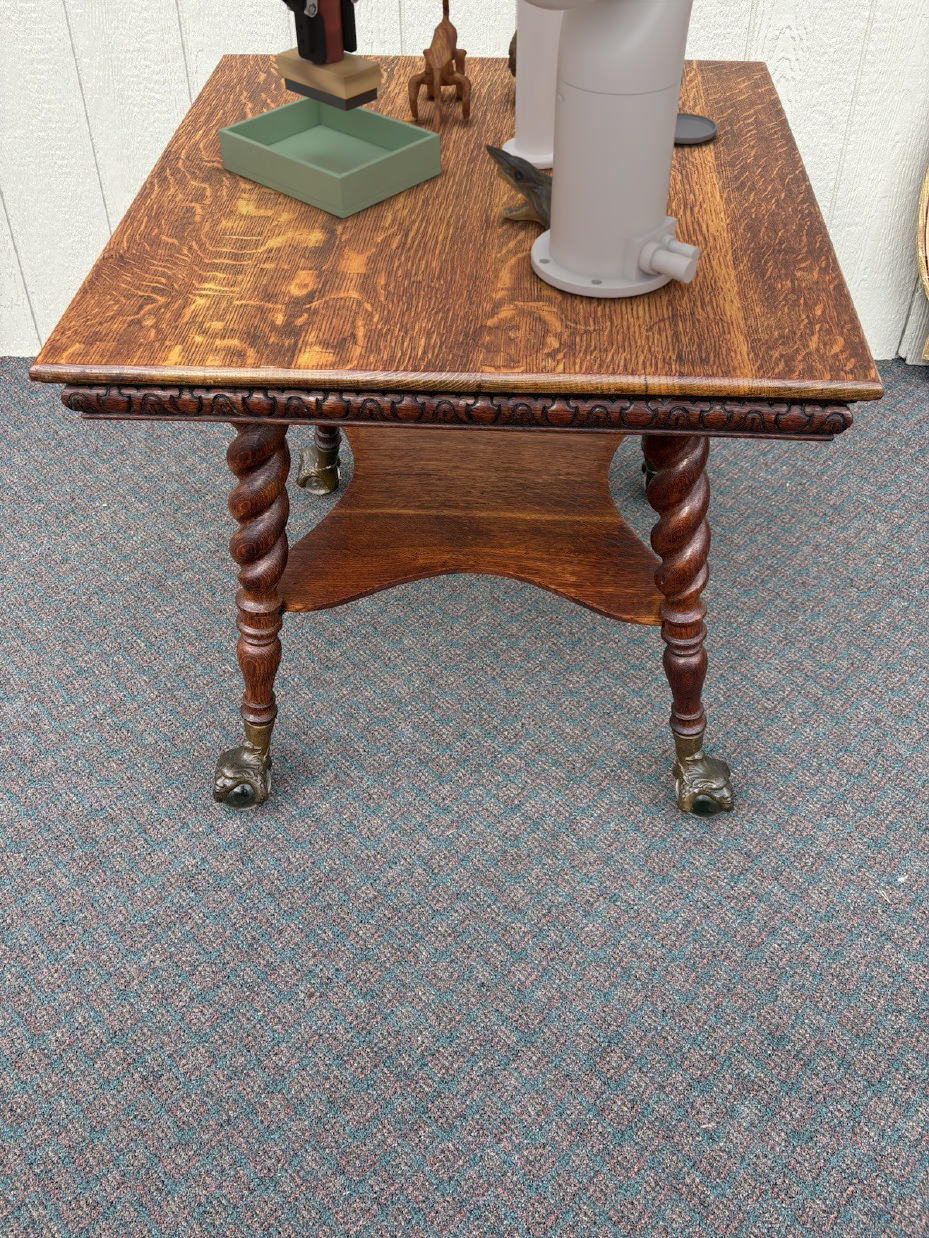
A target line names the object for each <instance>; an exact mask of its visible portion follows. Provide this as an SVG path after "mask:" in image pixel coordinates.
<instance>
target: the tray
mask: <svg viewBox="0 0 929 1238" xmlns="http://www.w3.org/2000/svg"><path fill="white" fill-rule="evenodd" d="M217 133H218V139H219V146H220V153H221V158H222V165H223V169H224V170H226V171H229V172H231V173H233V174H236V175H237V176H241V177H243V178H245V179H248V180H251V181H253V182H255V183H257V184H260V185H262V186H265V187H267V188H270V189H271V190H275V191H277V192H278V193H281V194H284V195H286V196H289V197H291V198H293V199H295V200H298V201H300V202H303V203H305V204H308V205H309V206H312V207H315V208H317V209H319V210H321V211H324V212H327V213H329V214H331V215H333V216H336V217H338V218H340V219H346V218H348V217H350V216H352V215H354V214H357V213H358V212H361V211H363V210H365V209H368V208H369V207H372V206H374V205H375V204H378V203H380V202H382V201H385V200H387V199H389V198H391V197H393V196H396V195H397V194H399V193H401V192H404V191H406V190H408V189H411V188H412V187H414V186H417V185H419V184H422V183H424V182H425V181H427V180H429V179H433V178H434V177H436V176H438V175H440V174H442V165H441V164H442V162H441V134H440V133H439V134H438V133H435V132H432V130H429V129H427V128H423V127H420V126H418V125H415V124H412V123H409V122H406V121H404V120H401V119H397V118H394V117H392V116H389V115H386V114H384V113H380V112H377V111H375V110H372V109H369V108H366V107H363V106H359V107H357V108H354V109H352V110H349V111H344V110H341V109H338V108H336V107H333V106H330V105H327V104H325V103H322V102H319V101H317V100H314V99H311V98H308V97H306V96H302V97H301V98H298V99H296V100H293V101H290V102H288V103H285V104H283V105H280V106H277V107H274V108H272V109H269V110H266V111H264V112H261V113H258V114H256V115H253V116H251V117H248V118H245V119H243V120H240V121H238V122H235V123H233V124H232V123H231V124H230V125H227V126H225V127H222V128H219V129H217Z"/></svg>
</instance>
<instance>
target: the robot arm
mask: <svg viewBox="0 0 929 1238" xmlns="http://www.w3.org/2000/svg"><path fill="white" fill-rule="evenodd" d="M281 1H282V2H283V3H284V4H285V5H286V8H287V10H288V11H290V12H293V16H294V17H293V18H294V27H295V35H296V36H295V38H296V47H298V54H299V56H300V57H301V58H303V59H306V60H309V61H312V62H315V63H318V64H322V63H325V62H326V60H327V52H326V40H325V28H324V18H323V15H320V14H317V10H318V5H317V0H281ZM524 1H526V2H528V3H529V4H531V5H534V6H536V7H539V8H542V9H547V10H564V13H563V18H562V23H561V29H560V37H559V45H558V62H557V76H556V100H555V124H554V148H553V168H552V172H551V173H552V175H551V176H552V195H551V219H550V229H549V230H547V231H546V230H545V231H544V232H542V233H540V235H539V236H538V237H536V238H535V240H534V242H533V243H532V246H531V249H530V265H531V267H532V270H533V272H534V273H535V274H536V275H537V276H538V277H539V278H540V279H541V280H542V281H544V282H545V283H547V284H548V285H550V286H552V287H554V288H556V289H558V290H561V291H564V292H567V293H570V294H573V295H578V296H582V297H591V298H600V299H602V298H603V299H617V298H628V297H633V296H640V295H644V294H648V293H650V292H653V291H656V290H657V289H660V288H662V287H663V286H665V285H666V284H668V283H669V282H671V281H672V280H675V281H678V282H681V283H683V284H689V283H690V282H692V280H693V279H694V278H695V275H696V273H697V269H698V260H699V258H700V255H701V249H700V247H698V246H695V245H693V244H690V243H687V242H681V241H679V240H678V237H677V236H676V233H677V232H676V231H677V224H678V219H677V217H673V216H670V215H668V214H667V208H668V201H669V200H668V199H669V192H670V191H669V190H670V183H671V176H672V175H671V174H672V165H673V158H674V157H673V155H674V147H675V143H674V139H675V130H676V122H677V113H679V103H680V94H681V87H682V84H681V78H682V75H683V76H684V67H685V66H684V65H685V60H686V59H685V57H686V49H687V42H688V35H689V27H690V20H691V16H692V15H691V14H692V9H693V4H694V0H524ZM358 2H359V0H340V6H341V19H342V32H343V46H344V52H347V53H350V54H352V53H355V52H357V50H358V39H357V25H356V11H355V4H357V3H358ZM682 79H683V78H682ZM680 86H681V87H680Z"/></svg>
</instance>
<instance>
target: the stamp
mask: <svg viewBox="0 0 929 1238" xmlns="http://www.w3.org/2000/svg"><path fill="white" fill-rule="evenodd" d="M317 5H318V10H317V14H320V15H323V18H324V28H325V40H326V52H327V60H326V62H325V63H322V64H318V63H315V62H312V61H309V60H306V59H303V58H301V57H300V56H299V54H298V46H296V47H293V48H290V49H287V50H284V51H281V52H278V53H277V65H278V71H279V76H280V77H282V78H284V79H283V80H284V88H285V90H286V91H289V92H291V93H295V94H297V95H301V96H302V97H308V98H311V99H314V100H317V101H319V102H322V103H325V104H327V105H330V106H333V107H336V108H338V109H341V110H344V111H349V110H352V109H354V108H357V107H359V106H360V107H363V106H364V105H366V104H367V105H368V104H369V103H372V102H374V101H377V100H378V88H380V87H381V86H382V81H381V80H382V79H381V77H382V76H381V64H380V62H378V61H374V60H371V59H368V58H365V57H362V56H358V55H356V54H352V53H349V52H346V51H344V46H343V32H342V19H341V6H340V0H317ZM377 62H378V63H377Z"/></svg>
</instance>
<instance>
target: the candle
mask: <svg viewBox="0 0 929 1238" xmlns="http://www.w3.org/2000/svg"><path fill="white" fill-rule="evenodd" d="M516 1H517V3H516V4H517V5H516V29H517V52H516V77H515V116H514V137H512V138H510V139H508V140H507V141H505V142H504V144H503V145H502V147H501V150H504V151H506V152H508V153H509V154H511V155H513V156H518V157H521V158H523V159H525V160H527V161H529V162H530V163H531V164H532V165H533V166H535V167H536V168H537V169H538V170H547V169H548V170H549V169H553V148H554V124H555V100H556V76H557V62H558V45H559V37H560V29H561V23H562V18H563V13H564V10H547V9H542V8H539V7H536V6H534V5H531V4H529V3H528V2H526V1H524V0H516Z"/></svg>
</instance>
